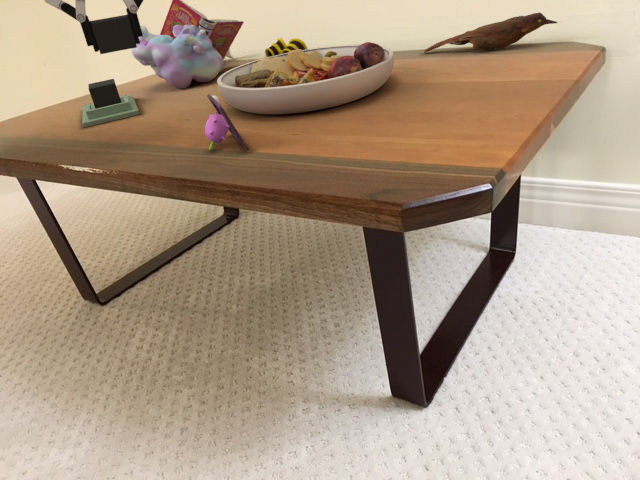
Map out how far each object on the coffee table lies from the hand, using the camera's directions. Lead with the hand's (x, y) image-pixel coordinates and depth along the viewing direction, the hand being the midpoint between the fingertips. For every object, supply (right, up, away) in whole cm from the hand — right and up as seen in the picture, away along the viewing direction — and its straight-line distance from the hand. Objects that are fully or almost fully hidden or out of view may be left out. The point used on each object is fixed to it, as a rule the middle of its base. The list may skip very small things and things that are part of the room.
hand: (117, 45), depth 78 cm
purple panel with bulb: (+16, -15, -3) cm, 22 cm away
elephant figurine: (+4, +16, +58) cm, 60 cm away
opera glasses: (+22, +13, +46) cm, 52 cm away
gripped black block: (0, 0, 0) cm, 0 cm away
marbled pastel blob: (+1, +8, +44) cm, 44 cm away
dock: (-11, -3, +27) cm, 29 cm away
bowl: (+27, -3, +16) cm, 32 cm away
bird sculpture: (+61, +9, +26) cm, 67 cm away
